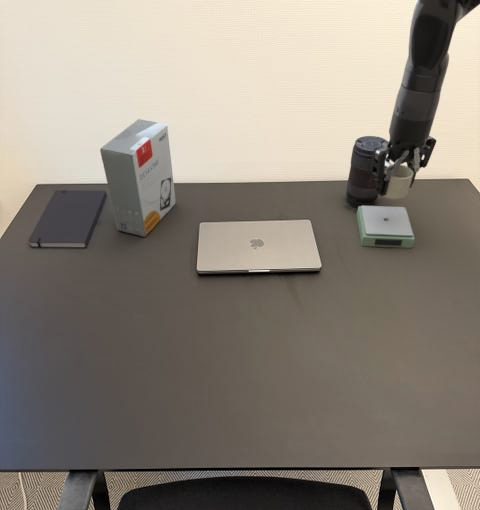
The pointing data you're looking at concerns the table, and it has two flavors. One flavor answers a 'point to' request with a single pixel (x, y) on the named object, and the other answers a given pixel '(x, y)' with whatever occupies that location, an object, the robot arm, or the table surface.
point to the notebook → (68, 219)
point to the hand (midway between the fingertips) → (393, 190)
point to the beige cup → (399, 182)
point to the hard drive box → (139, 176)
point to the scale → (385, 227)
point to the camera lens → (363, 172)
